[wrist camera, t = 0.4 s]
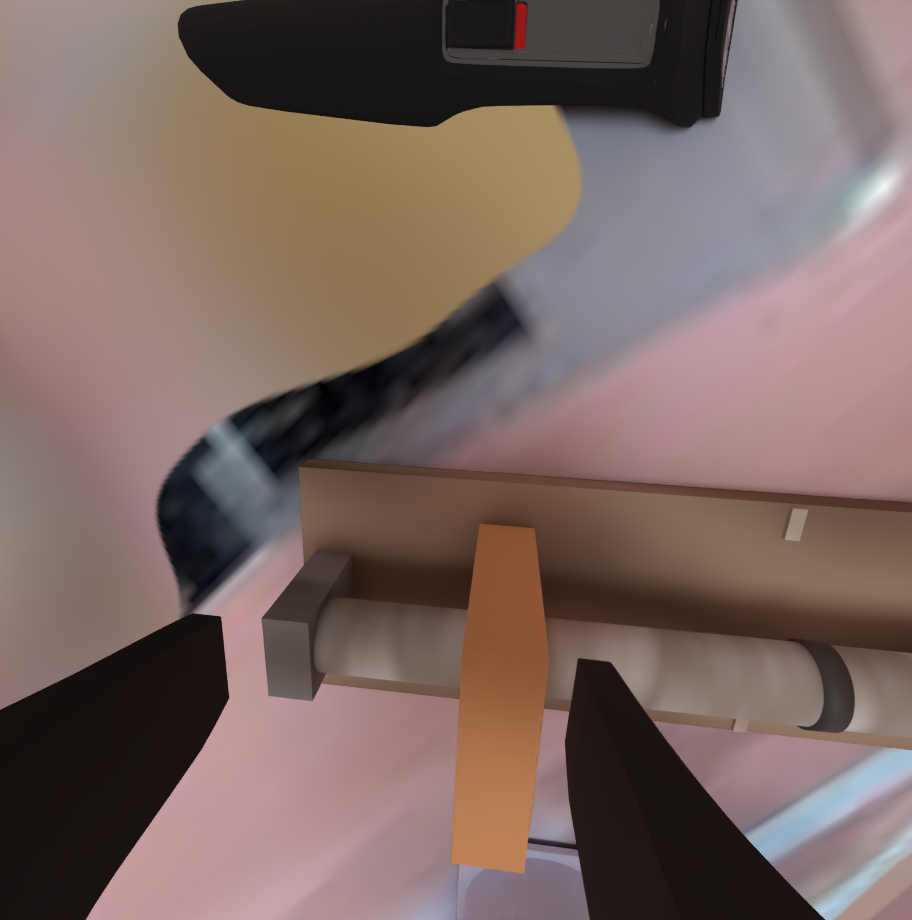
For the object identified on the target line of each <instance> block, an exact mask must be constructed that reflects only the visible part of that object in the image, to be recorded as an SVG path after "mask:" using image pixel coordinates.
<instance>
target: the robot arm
mask: <svg viewBox="0 0 912 920" xmlns="http://www.w3.org/2000/svg"><path fill="white" fill-rule="evenodd" d="M228 699H229V691H228V681H227V671H226V661H225V651H224V641H223V631H222V621H221V617H220V616H212V615H203V614H194V613H193V614H190V615H188V616H186V617H184V618H181V619H179V620H177V621H175V622H173V623H171V624H169V625H167V626H165V627H163V628H162V629H159V630H157V631H155V632H153V633H151V634H150V635H148V636H146V637H144V638H142V639H140V640H138V641H136V642H134V643H132V644H131V645H129V646H127V647H125V648H123V649H121V650H119V651H117V652H115V653H113V654H112V655H110V656H108V657H106V658H104V659H102V660H100V661H98V662H96V663H94V664H92V665H90V666H88V667H86V668H85V669H83V670H81V671H79V672H77V673H75V674H73V675H71V676H69V677H67V678H65V679H63V680H61V681H59V682H57V683H55V684H52V685H50V686H48V687H46V688H44V689H42V690H40V691H38V692H36V693H34V694H32V695H30V696H28V697H26V698H24V699H22V700H20V701H18V702H16V703H13V704H12V705H9V706H7V707H5V708H3V709H1V710H0V920H86V918H87V917H88V915H89V913H90V912H91V910H92V908H93V907H94V905H95V903H96V902H97V900H98V899H99V897H100V896H101V894H102V893H103V891H104V890H105V888H106V887H107V885H108V884H109V882H110V881H111V879H112V877H113V876H114V874H115V873H116V871H117V870H118V869H119V867H120V866H121V864H122V863H123V861H124V860H125V859H126V857H127V856H128V854H129V853H130V852H131V850H132V849H133V847H134V846H135V844H136V843H137V842H138V840H139V839H140V837H141V836H142V834H143V833H144V832H145V830H146V829H147V827H148V826H149V824H150V823H151V822H152V820H153V819H154V817H155V816H156V814H157V813H158V812H159V810H160V809H161V807H162V806H163V804H164V803H165V802H166V800H167V799H168V797H169V796H170V795H171V793H172V792H173V790H174V789H175V787H176V786H177V784H178V783H179V782H180V780H181V779H182V777H183V776H184V774H185V773H186V771H187V770H188V768H189V767H190V766H191V764H192V763H193V761H194V760H195V758H196V757H197V755H198V754H199V752H200V751H201V749H202V748H203V746H204V744H205V742H206V741H207V739H208V737H209V735H210V733H211V732H212V730H213V728H214V726H215V724H216V723H217V721H218V719H219V717H220V715H221V713H222V711H223V709H224V707H225V705H226V703H227V701H228ZM565 750H566V766H567V780H568V793H569V803H570V809H571V815H572V821H573V827H574V832H575V838H576V844H577V850H576V849H568V848H561V847H554V846H546V845H539V844H532V843H528V844H527V852H526V861H525V869H524V874H523V873H516V872H509V871H502V870H495V869H488V868H481V867H474V866H467V865H460V864H459V877H458V893H457V909H456V920H825V919H824V918H823V917H822V916H821V915H820V914H819V913H818V912H817V911H816V910H815V909H814V908H813V907H812V906H811V905H810V904H809V903H808V902H807V901H806V900H805V899H804V898H803V897H802V896H801V895H800V894H799V893H798V892H797V891H796V890H795V889H794V888H793V887H792V886H791V885H790V884H789V883H788V882H787V881H786V880H785V879H784V878H783V877H782V876H781V874H780V873H779V872H778V871H777V870H776V869H775V868H774V867H773V866H772V865H771V864H770V863H769V862H768V861H767V860H766V859H765V857H764V856H763V855H762V854H761V853H760V852H759V851H758V850H757V849H756V848H755V847H754V846H753V845H752V844H751V843H750V842H749V840H748V839H747V838H746V837H745V836H744V835H743V834H742V833H741V831H740V830H739V829H738V828H737V827H736V826H735V825H734V823H733V822H732V821H731V820H730V819H729V818H728V817H727V815H726V814H725V813H724V812H723V811H722V809H721V808H720V807H719V806H718V805H717V803H716V802H715V801H714V800H713V799H712V797H711V796H710V795H709V794H708V793H707V791H706V790H705V789H704V788H703V787H702V785H701V784H700V783H699V782H698V780H697V779H696V778H695V777H694V775H693V774H692V773H691V772H690V770H689V769H688V768H687V767H686V765H685V764H684V763H683V761H682V760H681V759H680V757H679V756H678V755H677V753H676V752H675V751H674V750H673V748H672V747H671V746H670V744H669V743H668V742H667V740H666V739H665V738H664V736H663V735H662V734H661V732H660V731H659V730H658V728H657V727H656V726H655V724H654V723H653V721H652V720H651V719H650V717H649V716H648V714H647V713H646V712H645V710H644V709H643V707H642V706H641V705H640V703H639V702H638V700H637V699H636V697H635V696H634V695H633V693H632V692H631V690H630V689H629V687H628V686H627V684H626V683H625V681H624V680H623V678H622V677H621V675H620V674H619V673H618V671H617V670H616V668H615V667H614V666H613V664H612V663H611V662H609V661H600V660H591V659H583V658H578V661H577V667H576V674H575V680H574V687H573V693H572V699H571V706H570V712H569V719H568V725H567V732H566V738H565Z"/></svg>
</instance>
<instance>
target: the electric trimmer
mask: <svg viewBox="0 0 912 920" xmlns="http://www.w3.org/2000/svg"><path fill="white" fill-rule="evenodd" d="M737 1H738V0H242V1H233V2H226V3H217V4H210V5H201V6H195V7H192V8H189V9H187V10H186V11H184V12H183V13H182V14H181V15H180V18H179V22H178V32H179V38H180V40H181V42H182V44H183V46H184V49H185V51H186V53H187V55H188V57H189V58H190V59H191V60H192V61H193V63H194V64H195V65H196V66H197V67H198V68H199V69H200V71H201V72H202V73H204V74H205V75H206V76H207V77H208V78H209V79H210V80H211V81H212V82H213V83H214V84H215V85H217V87H219V88H220V89H221V90H222V91H223V92H224V93H225V94H226V95H227V96H228V97H230V98H231V99H233V100H235V101H237V102H239V103H242V104H245V105H249V106H254V107H261V108H267V109H274V110H280V111H286V112H296V113H304V114H311V115H319V116H327V117H335V118H345V119H352V120H360V121H368V122H376V123H385V124H395V125H409V126H421V127H432V126H437V125H439V124H441V123H442V122H444V121H445V120H447V119H449V118H450V117H452V116H454V115H456V114H458V113H461V112H463V111H467V110H471V109H475V108H479V107H486V106H521V105H523V106H524V105H619V106H640V107H646V108H652V109H655V110H657V111H658V112H660V113H661V114H663V115H664V116H666V117H667V118H669V119H670V120H671V121H673V122H675V123H676V124H678V125H680V126H688V127H691V126H693V124H694V123H695V122H696V121H697V120H698V119H699V118H700V117H701V116H702V114H703V111H704V117H717V116H719V115H720V112H721V105H722V97H723V89H724V81H725V75H726V69H727V62H728V56H729V50H730V44H731V38H732V32H733V26H734V19H735V13H736V7H737ZM710 13H711V14H710ZM706 44H707V45H706ZM705 54H706V56H705ZM704 66H705V68H704ZM703 96H704V98H703Z"/></svg>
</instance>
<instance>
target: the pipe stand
mask: <svg viewBox="0 0 912 920" xmlns="http://www.w3.org/2000/svg"><path fill="white" fill-rule="evenodd" d="M299 481H300V499H301V516H302V534H303V551H304V566H303V567H302V568H301V570H300V571H299V572H298V573H297V575H296V576H295V577H294V579H293V580H292V581H291V582H290V584H289V585H288V586H287V587H286V589H285V590H284V591H283V592H282V594H281V595H280V596H279V597H278V599H277V600H276V601H275V602H274V604H273V605H272V606H271V607H270V609H269V610H268V611H267V612H266V614H265V615H264V616H263V618H262V627H263V638H264V649H265V660H266V671H267V682H268V693H269V696H274V697H283V698H291V699H300V700H309V701H313V699H314V697H315V695H316V693H317V691H318V689H319V687H320V685H321V683H323V684H332V685H341V686H350V687H359V688H367V689H376V690H385V691H394V692H403V693H412V694H420V695H429V696H438V697H447V698H456V699H460V685H461V667H462V649H463V642H464V635H465V627H466V620H467V613H468V606H469V598H470V591H471V584H472V576H473V569H474V562H475V554H476V547H477V540H478V533H479V525H480V524H489V525H502V526H514V527H526V528H535V536H536V545H537V553H538V562H539V571H540V580H541V589H542V597H543V606H544V615H545V624H546V632H547V641H548V650H549V659H550V660H549V668H548V676H547V685H546V693H545V701H544V709H553V710H562V711H570V706H571V699H572V693H573V687H574V680H575V674H576V667H577V661H578V658H583V659H591V660H600V661H609V662H611V663H612V664H613V666H614V667H615V668H616V670H617V671H618V673H619V674H620V675H621V677H622V678H623V680H624V681H625V683H626V684H627V686H628V687H629V689H630V690H631V692H632V693H633V695H634V696H635V697H636V699H637V700H638V702H639V703H640V705H641V706H642V707H643V709H644V710H645V712H646V713H647V714H648V716H649V717H650V719H651V720H652V721H659V722H668V723H677V724H685V725H694V726H703V727H712V728H721V729H730V730H732V731H733V732H740V733H746V731H747V732H756V733H765V734H774V735H783V736H791V737H800V738H809V739H818V740H827V741H836V742H844V743H853V744H862V745H871V746H880V747H889V748H897V749H906V750H912V503H901V502H888V501H874V500H860V499H846V498H833V497H819V496H805V495H792V494H778V493H764V492H751V491H737V490H723V489H710V488H696V487H682V486H669V485H655V484H641V483H628V482H614V481H600V480H586V479H573V478H559V477H545V476H532V475H518V474H504V473H491V472H477V471H463V470H450V469H436V468H422V467H409V466H395V465H381V464H368V463H354V462H340V461H326V460H313V459H309V460H307V461H306V462H305V463H303V464H302V465H301V466H299Z"/></svg>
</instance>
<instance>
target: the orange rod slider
mask: <svg viewBox="0 0 912 920" xmlns="http://www.w3.org/2000/svg"><path fill="white" fill-rule="evenodd" d="M549 660H550V659H549V650H548V641H547V632H546V624H545V615H544V606H543V597H542V589H541V580H540V571H539V562H538V553H537V545H536V536H535V528H526V527H514V526H502V525H489V524H480V525H479V533H478V540H477V547H476V554H475V562H474V569H473V576H472V584H471V591H470V598H469V606H468V613H467V620H466V627H465V635H464V642H463V649H462V667H461V685H460V703H459V721H458V740H457V758H456V776H455V794H454V812H453V831H452V849H451V863H453V864H460V865H467V866H474V867H481V868H488V869H495V870H502V871H509V872H516V873H523V874H524V869H525V861H526V852H527V844H528V835H529V827H530V819H531V810H532V802H533V794H534V785H535V777H536V768H537V760H538V752H539V743H540V735H541V727H542V718H543V710H544V701H545V693H546V685H547V676H548V668H549Z"/></svg>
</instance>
